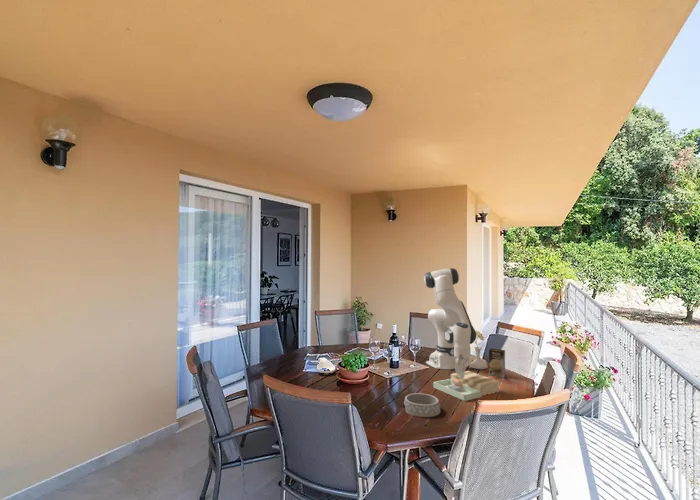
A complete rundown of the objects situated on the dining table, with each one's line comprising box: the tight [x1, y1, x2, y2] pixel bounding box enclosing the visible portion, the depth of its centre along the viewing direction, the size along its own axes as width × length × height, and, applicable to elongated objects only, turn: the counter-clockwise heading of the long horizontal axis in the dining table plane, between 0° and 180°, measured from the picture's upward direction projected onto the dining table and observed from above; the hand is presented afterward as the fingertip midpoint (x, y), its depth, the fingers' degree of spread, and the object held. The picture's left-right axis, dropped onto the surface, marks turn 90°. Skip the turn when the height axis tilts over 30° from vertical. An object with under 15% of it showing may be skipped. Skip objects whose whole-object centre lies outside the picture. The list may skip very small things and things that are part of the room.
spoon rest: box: [316, 357, 336, 374], centre depth 245 cm, size 24×12×7 cm, turn 17°
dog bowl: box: [402, 392, 442, 418], centre depth 181 cm, size 17×18×5 cm
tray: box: [432, 378, 483, 402], centre depth 205 cm, size 24×12×3 cm, turn 29°
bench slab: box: [450, 370, 499, 397], centre depth 212 cm, size 22×14×6 cm, turn 29°
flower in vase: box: [468, 330, 488, 370], centre depth 253 cm, size 13×11×25 cm
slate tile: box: [448, 385, 462, 392], centre depth 206 cm, size 5×5×2 cm
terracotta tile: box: [452, 378, 463, 389], centre depth 209 cm, size 5×5×2 cm
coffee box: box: [488, 348, 506, 379], centre depth 236 cm, size 9×6×16 cm
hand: (462, 378), depth 208 cm, fingers closed
